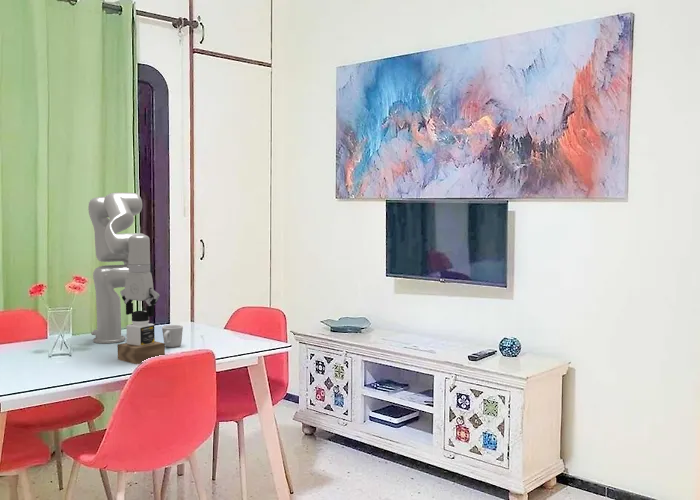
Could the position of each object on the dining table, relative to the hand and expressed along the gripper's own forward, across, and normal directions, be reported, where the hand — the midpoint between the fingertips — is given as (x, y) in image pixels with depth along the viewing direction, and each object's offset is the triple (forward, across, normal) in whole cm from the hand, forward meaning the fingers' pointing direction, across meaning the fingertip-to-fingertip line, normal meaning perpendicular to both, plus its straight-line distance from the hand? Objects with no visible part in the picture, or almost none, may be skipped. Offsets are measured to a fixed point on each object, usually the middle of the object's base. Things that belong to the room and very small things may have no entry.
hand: (140, 315), depth 257 cm
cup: (+17, -3, +21) cm, 27 cm away
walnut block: (+16, +1, -1) cm, 17 cm away
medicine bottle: (+11, +1, -1) cm, 11 cm away
